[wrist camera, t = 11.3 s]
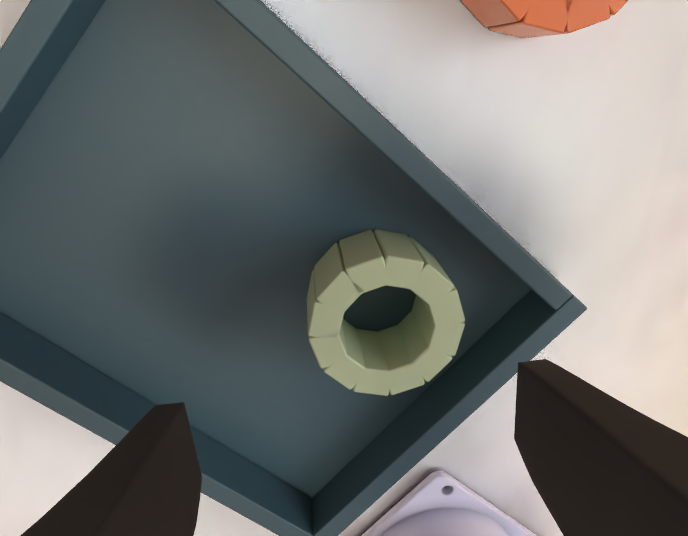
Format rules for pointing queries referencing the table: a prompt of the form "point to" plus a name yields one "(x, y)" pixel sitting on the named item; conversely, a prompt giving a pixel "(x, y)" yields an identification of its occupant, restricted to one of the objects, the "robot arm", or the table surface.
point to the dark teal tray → (231, 251)
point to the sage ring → (392, 343)
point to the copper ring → (541, 15)
